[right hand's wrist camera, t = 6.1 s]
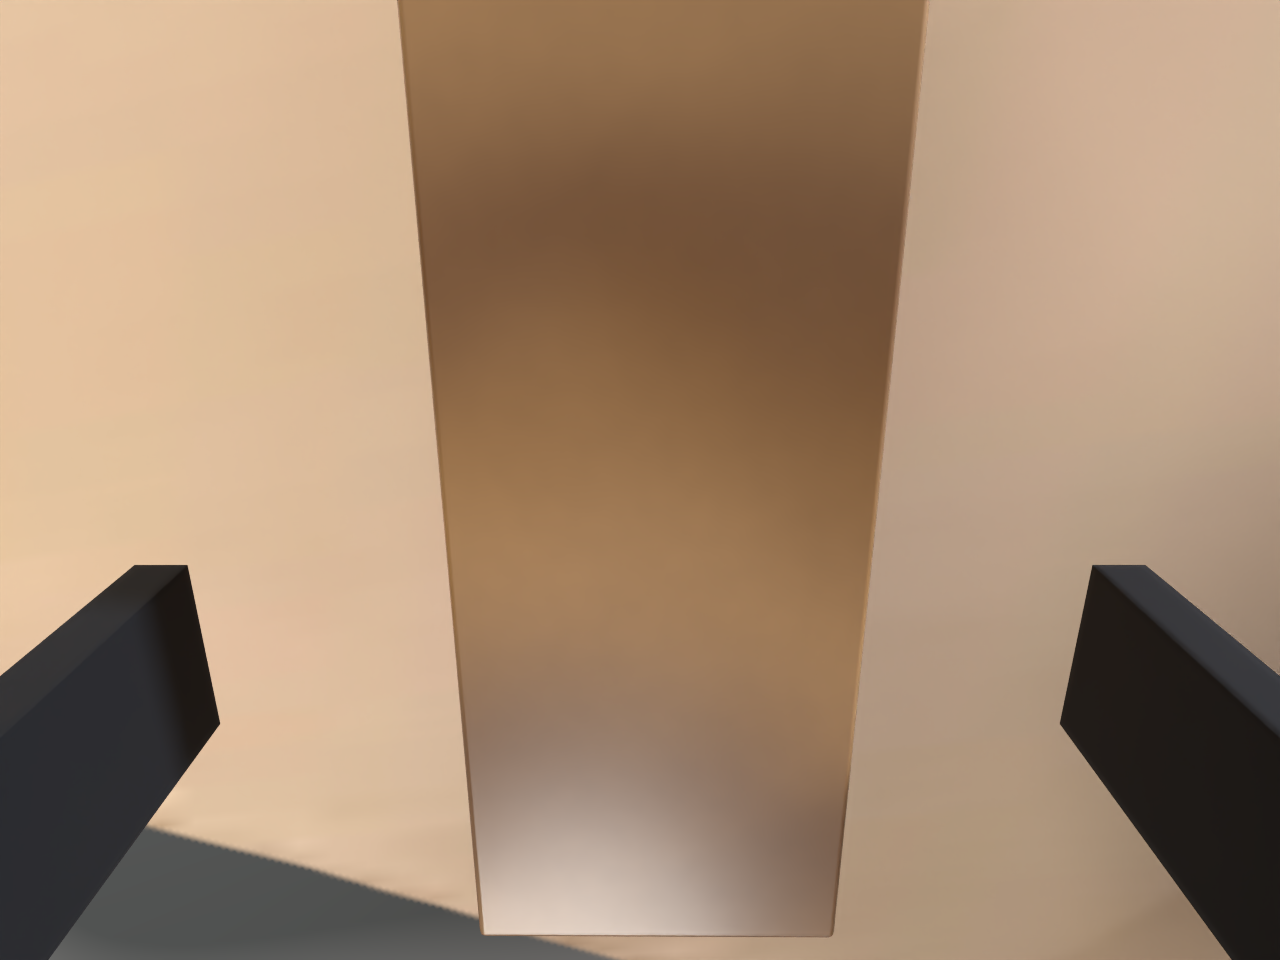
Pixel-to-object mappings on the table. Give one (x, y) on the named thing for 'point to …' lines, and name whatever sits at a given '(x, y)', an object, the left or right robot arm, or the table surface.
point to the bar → (660, 436)
